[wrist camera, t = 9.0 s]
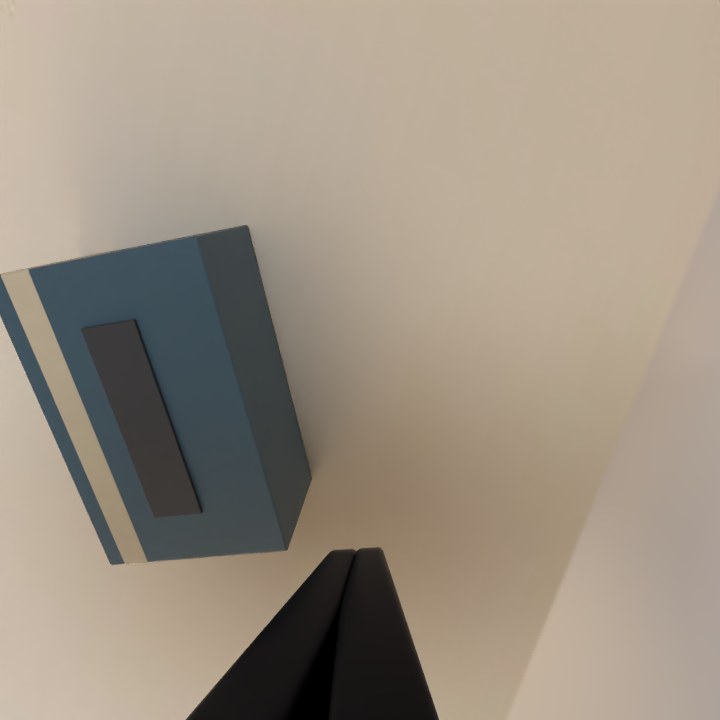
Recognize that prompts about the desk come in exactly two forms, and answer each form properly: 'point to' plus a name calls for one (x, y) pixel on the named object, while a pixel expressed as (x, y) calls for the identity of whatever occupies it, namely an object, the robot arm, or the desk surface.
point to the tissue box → (165, 395)
